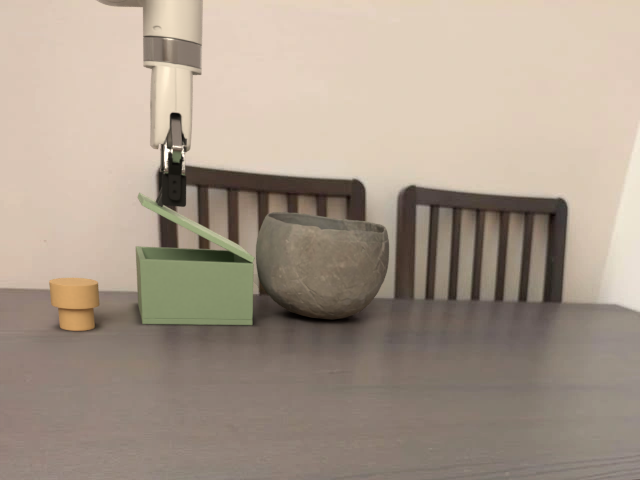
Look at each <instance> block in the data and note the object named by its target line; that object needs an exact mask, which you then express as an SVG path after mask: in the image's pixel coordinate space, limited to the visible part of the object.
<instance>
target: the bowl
mask: <svg viewBox="0 0 640 480" xmlns="http://www.w3.org/2000/svg"><path fill="white" fill-rule="evenodd" d="M261 223H262V224H261V226H260V229H259V231H258V234H257V238H256V244H255V265H256V271H257V277H258V280H259V282H260V285H261V287H262V288H263V290H264V291H265V292H266V293H267V295H268V296H269V297H270V299H272V300H273V302H275V303H276V304H277V305H278V306H280V307H281V308H283V309H284V310H286V311H289V312H290V313H293V314H296V315H299V316H302V317H307V318H313V319H321V320H340V319H345V318H349V317H351V316H354V315H356V314H358V313H360V312H361V311H362V310H364V309H366V307H368V306H369V305H370V304H371V303H372V302H373V300H374V299H375V297H376V296H377V295H378V293H379V291H380V289H381V287H382V286H383V284H384V282H385V279H386V276H387V273H388V269H389V261H390V239H389V234H388V230H387V228H386V226H384V225H383V224H380V223H375V222H370V221H365V220H357V219H356V220H354V219H346V218H344V219H340V218H334V217H328V216H321V215H315V214H310V213H309V214H308V213H300V212H288V211H280V212H278V211H274V212H269V213H267V214H266V215H265V217H264V219H263V220H262V222H261Z"/></svg>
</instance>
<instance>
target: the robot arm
mask: <svg viewBox="0 0 640 480" xmlns="http://www.w3.org/2000/svg"><path fill="white" fill-rule="evenodd" d="M96 1H97V2H98V3H100V4H102V5H105V6H109V7H118V8H142V54H143V55H142V59H143V61H142V63H143V64H142V65H143V67H144V68H146V69H149V70H151V72H150V73H151V75H150V90H149V91H150V98H149V100H150V101H149V107H150V108H149V113H150V114H149V120H150V122H149V146H150V147H151V148H152V149H154V150H159V151H160V152H159V153H160V154H159V155H160V156H159V157H160V158H159V161H160V162H159V164H160V165H159V172H158V193H159V192H160V190H161V188H162V203H163V205H164V206H166V207H168V206H169V207H178V208H179V207H181V208H184V207H186V206H187V175H186V153H187V152H189V151H190V150H191V145H192V131H193V108H194V107H193V106H194V105H193V101H194V98H193V97H194V95H193V92H194V86H193V85H194V84H193V83H194V80H193V79H194V76H202V75H203V74H202V71H203V70H202V69H203V17H204V15H203V14H204V13H203V12H204V11H203V10H204V0H96ZM159 147H160V148H159ZM163 173H164V174H163Z"/></svg>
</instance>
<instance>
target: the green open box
mask: <svg viewBox="0 0 640 480" xmlns="http://www.w3.org/2000/svg"><path fill="white" fill-rule="evenodd" d="M135 265H136V286H137V305H138V311H139V314H140V319H141V323H142V325H187V326H188V325H189V326H190V325H191V326H192V325H194V326H195V325H196V326H198V325H199V326H200V325H201V326H202V325H203V326H205V325H206V326H253V323H254V322H253V321H254V320H253V318H254V316H253V315H254V314H253V313H254V269H255V268H254V266H255V265H254V262H253V263H251V262H250V261H248V260H246V259H244V258H242V257H240V256H238V255H236V254H234V253H232V252H230V251H228V250H227V249H213V248H212V249H211V248H210V249H209V248H190V247H189V248H187V247H186V248H185V247H163V246H161V247H160V246H142V245H141V246H140V245H138V246H137V245H136V246H135Z"/></svg>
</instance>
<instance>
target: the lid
mask: <svg viewBox="0 0 640 480" xmlns="http://www.w3.org/2000/svg"><path fill="white" fill-rule="evenodd" d="M163 174H164V173H163ZM136 197H137V200H138V201H139V203H140V205H141V206H142V207H143V208H146V209H148V210H150V211H151V212H153V213H155V214H157V215H158V216H159V215H160V217H163V218H165V219H167V220H169V221H171V222H172V223H175V224H176V225H179V226H181V227H182V228H184V229H186V230H188V231H190V232H192V233H194V234H196V235H197V236H199V237H202V238H203V239H205V240H208V241H210V243H213V244H215V245H216V246H219V247H220V248H223V249H224V250H228V251H230V252H232V253H234V254H236V255H238V256H240V257H242V258H244V259H246V260H248V261H250V262H251V263H253V264H254V261H255V260H256V257H255V256H253V255H252V254H251V253H250V252H248V251H247V250H246V249H244V247H242V246H241V245H240V244H238V243H236V242H235V241H232V240H230V239H228V238H227V237H225V236H223V235H220V234H219V233H217V232H215V231H214V230H211V229H210V228H208V227H206V226H204V225H203V224H200V223H198V222H196V221H194V220H192V219H191V218H189V217H187V216H185V215H183V214H180V213H179V212H178V211H175V210H173V209H171V208H170V207H168V206H167V205H163V203H162V188H161V190H160V192H159V191H158V195H157V197H156V199H155V200H154V199H153V198H150V197H149V196H147V195H145V194H143V193H141V192H139V193H138V195H137V196H136Z"/></svg>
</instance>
